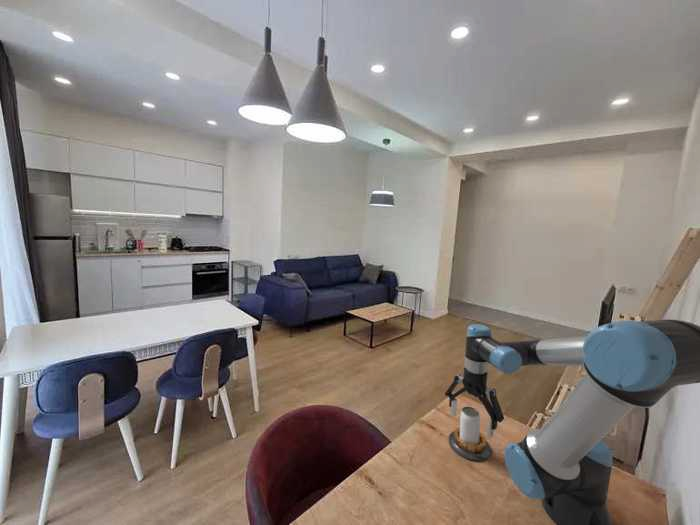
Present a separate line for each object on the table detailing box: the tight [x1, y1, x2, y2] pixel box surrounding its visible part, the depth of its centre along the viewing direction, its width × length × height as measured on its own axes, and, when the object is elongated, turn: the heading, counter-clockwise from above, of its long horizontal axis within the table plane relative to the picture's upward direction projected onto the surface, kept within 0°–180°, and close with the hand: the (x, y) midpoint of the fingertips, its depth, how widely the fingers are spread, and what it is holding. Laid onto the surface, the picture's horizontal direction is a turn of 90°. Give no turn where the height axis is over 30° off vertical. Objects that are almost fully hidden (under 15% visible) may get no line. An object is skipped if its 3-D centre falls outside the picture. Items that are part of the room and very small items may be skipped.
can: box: [459, 406, 481, 445], centre depth 103 cm, size 6×6×12 cm
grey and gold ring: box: [448, 426, 492, 462], centre depth 104 cm, size 14×14×4 cm
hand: (470, 425), depth 103 cm, fingers open, 13 cm apart
